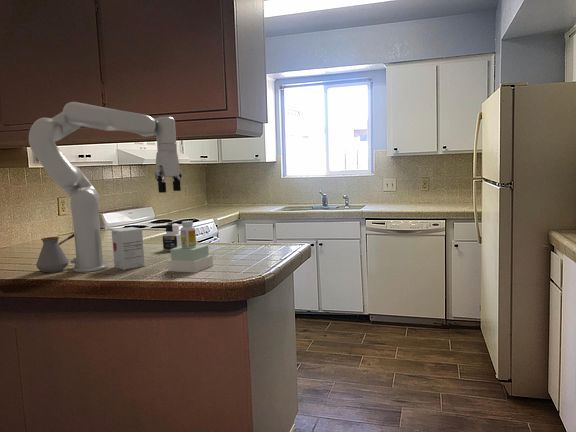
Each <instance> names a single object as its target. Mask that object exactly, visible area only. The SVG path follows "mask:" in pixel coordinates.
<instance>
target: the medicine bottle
mask: <svg viewBox="0 0 576 432" xmlns="http://www.w3.org/2000/svg"><path fill="white" fill-rule="evenodd" d="M165 233H166V234H163V235H162V248H163V251H165V252H166V251H169V252H171V251H170V249H173V248H176V247H180V246H182V244H181V232H180V224H179V223H167V224H166V225H165Z"/></svg>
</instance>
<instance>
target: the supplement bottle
mask: <svg viewBox="0 0 576 432" xmlns="http://www.w3.org/2000/svg"><path fill="white" fill-rule="evenodd" d="M193 225H194V223H193V220H185V221H184V220H183V221H181V226H182V227H180V233H181V244H182V248H194V247H196V245H197V237H196V227H194V226H193Z"/></svg>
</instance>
